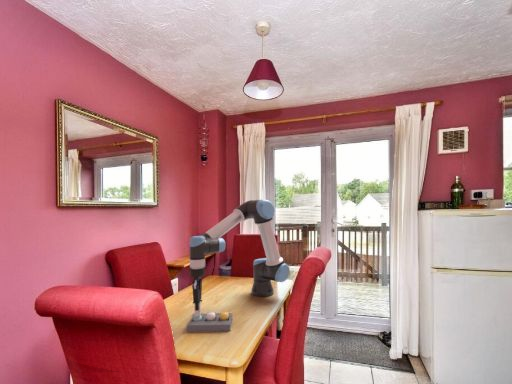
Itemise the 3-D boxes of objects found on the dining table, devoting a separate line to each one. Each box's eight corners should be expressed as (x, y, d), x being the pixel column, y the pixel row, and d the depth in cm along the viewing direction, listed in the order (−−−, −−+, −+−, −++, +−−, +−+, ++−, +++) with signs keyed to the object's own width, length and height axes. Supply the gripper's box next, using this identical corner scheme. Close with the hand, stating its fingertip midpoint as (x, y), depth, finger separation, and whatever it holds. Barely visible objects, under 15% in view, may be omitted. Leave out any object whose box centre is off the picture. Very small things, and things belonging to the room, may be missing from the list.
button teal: (203, 320, 133) (203, 314, 134) (201, 324, 129) (201, 318, 129) (194, 320, 133) (194, 314, 134) (192, 324, 129) (192, 318, 129)
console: (232, 318, 138) (232, 312, 138) (230, 331, 124) (229, 324, 125) (193, 319, 138) (193, 313, 138) (187, 332, 124) (187, 325, 124)
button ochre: (229, 317, 134) (228, 311, 134) (228, 320, 129) (228, 314, 129) (220, 317, 134) (220, 311, 134) (219, 321, 129) (219, 315, 129)
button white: (216, 317, 134) (215, 311, 134) (214, 321, 129) (214, 315, 129) (207, 317, 134) (207, 312, 134) (205, 321, 129) (205, 315, 129)
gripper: (192, 264, 139) (192, 311, 138) (186, 270, 126) (186, 321, 125) (207, 264, 140) (207, 311, 138) (202, 270, 127) (202, 321, 125)
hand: (197, 316), depth 131 cm, fingers closed
